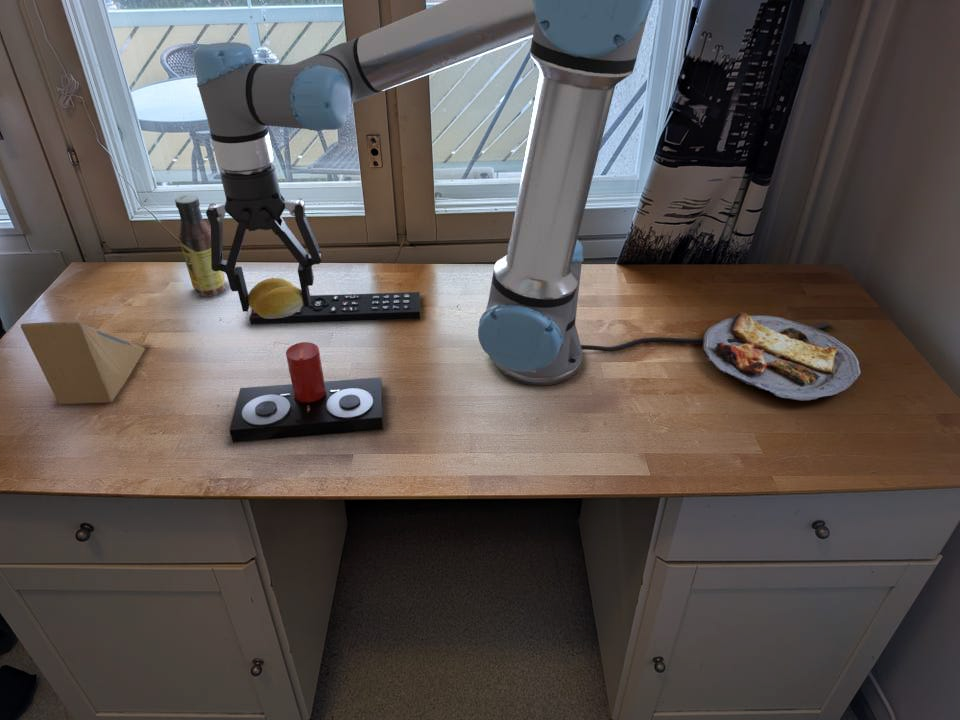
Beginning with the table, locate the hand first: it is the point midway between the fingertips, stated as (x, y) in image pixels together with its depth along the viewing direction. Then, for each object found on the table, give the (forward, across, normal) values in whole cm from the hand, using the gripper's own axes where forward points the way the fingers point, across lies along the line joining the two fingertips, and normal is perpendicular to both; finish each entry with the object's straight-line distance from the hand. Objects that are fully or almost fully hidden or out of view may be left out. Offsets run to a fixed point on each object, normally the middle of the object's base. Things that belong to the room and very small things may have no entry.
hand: (277, 304), depth 104 cm
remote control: (+12, -7, -17) cm, 23 cm away
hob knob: (+10, -4, +11) cm, 16 cm away
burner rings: (+10, -4, +15) cm, 18 cm away
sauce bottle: (+12, +18, -29) cm, 36 cm away
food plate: (+14, -83, +10) cm, 85 cm away
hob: (+12, -4, +13) cm, 19 cm away
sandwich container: (+12, +31, -2) cm, 33 cm away
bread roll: (0, 0, 0) cm, 0 cm away
